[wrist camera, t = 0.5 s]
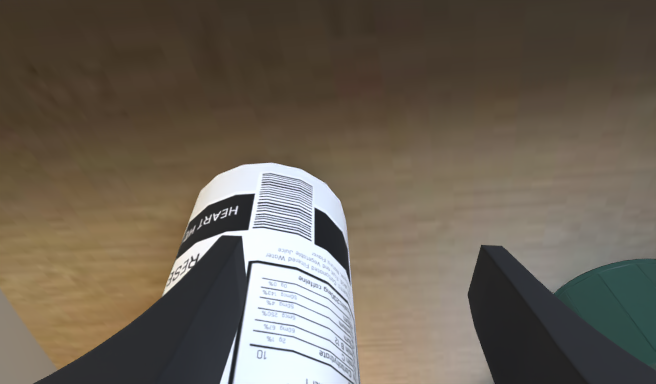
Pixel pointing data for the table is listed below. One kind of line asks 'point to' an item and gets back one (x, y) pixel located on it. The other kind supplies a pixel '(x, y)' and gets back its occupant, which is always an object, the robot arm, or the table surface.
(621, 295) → the green pot
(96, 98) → the table surface
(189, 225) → the supplement can
